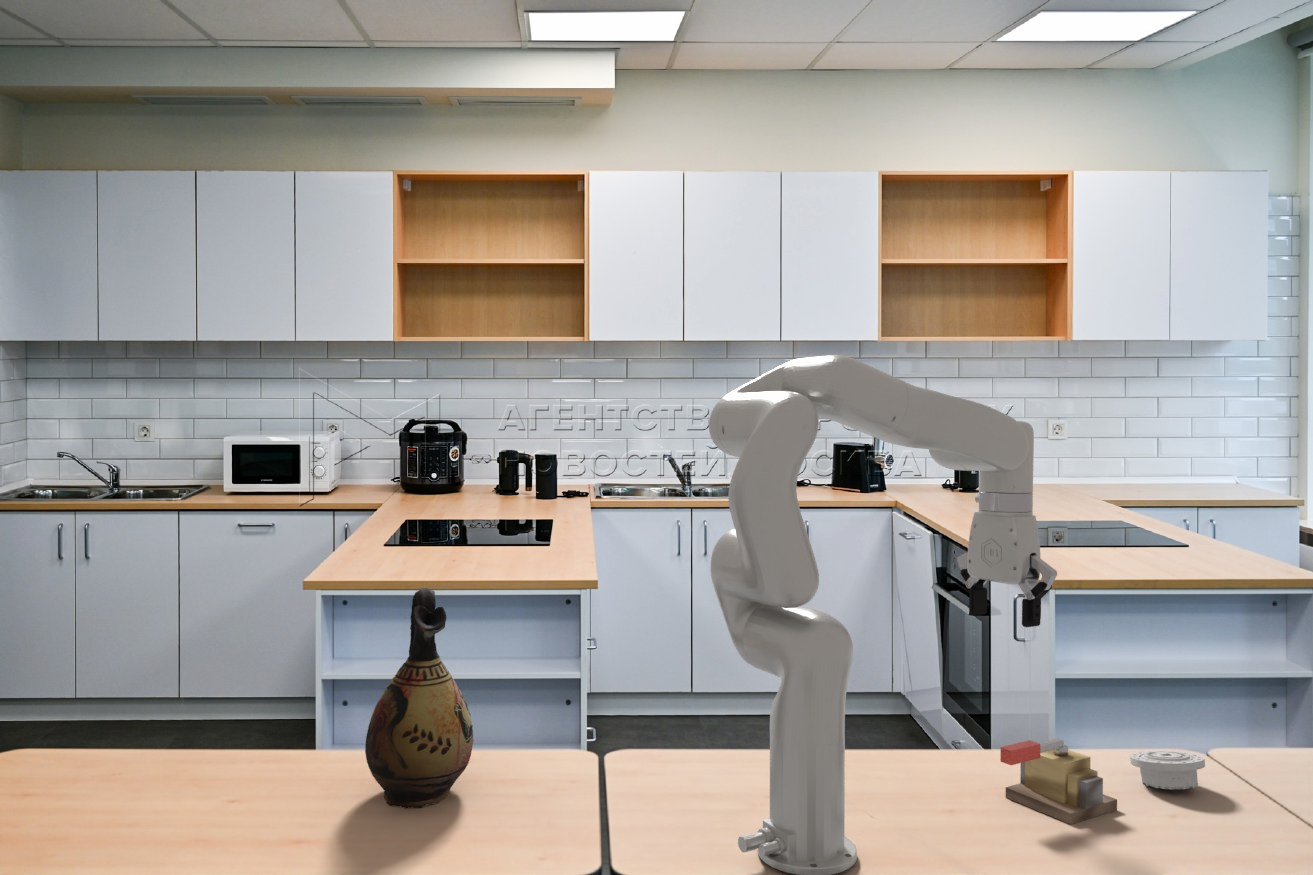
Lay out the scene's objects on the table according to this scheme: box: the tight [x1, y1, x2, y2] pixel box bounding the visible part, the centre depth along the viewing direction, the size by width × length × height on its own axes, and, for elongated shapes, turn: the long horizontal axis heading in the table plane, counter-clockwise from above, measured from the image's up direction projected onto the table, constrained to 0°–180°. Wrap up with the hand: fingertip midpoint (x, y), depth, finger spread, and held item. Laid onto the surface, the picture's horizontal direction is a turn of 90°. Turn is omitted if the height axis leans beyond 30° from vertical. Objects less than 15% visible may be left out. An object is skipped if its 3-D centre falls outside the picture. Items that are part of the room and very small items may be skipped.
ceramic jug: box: [364, 587, 474, 809], centre depth 143 cm, size 17×15×30 cm
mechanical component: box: [1129, 750, 1206, 790], centre depth 146 cm, size 10×4×10 cm
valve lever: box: [999, 737, 1069, 766], centre depth 137 cm, size 12×2×2 cm, turn 120°
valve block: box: [1005, 749, 1118, 825], centre depth 139 cm, size 10×11×7 cm
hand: (1003, 620), depth 143 cm, fingers open, 9 cm apart
